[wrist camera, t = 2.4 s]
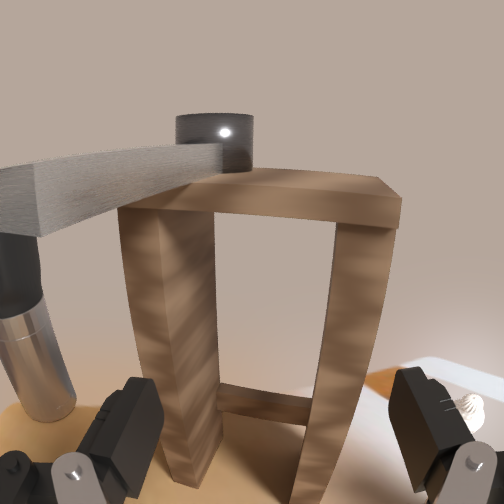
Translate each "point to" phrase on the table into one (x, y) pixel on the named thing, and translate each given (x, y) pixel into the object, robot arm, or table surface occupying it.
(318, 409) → the shelf
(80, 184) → the steel link
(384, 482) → the table surface
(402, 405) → the robot arm
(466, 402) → the white ridged dome
